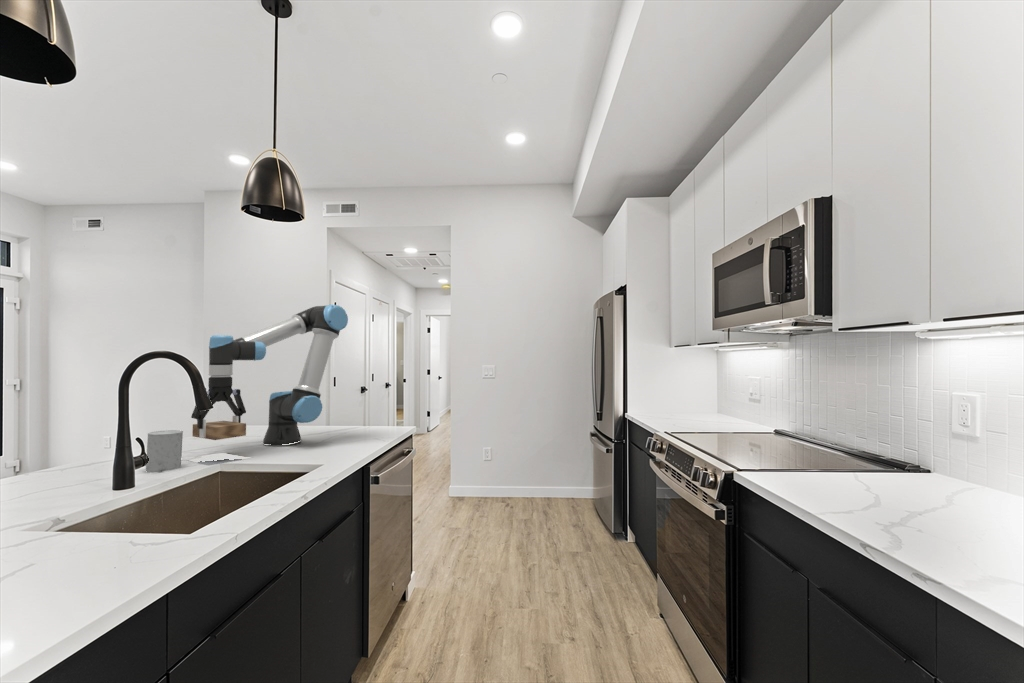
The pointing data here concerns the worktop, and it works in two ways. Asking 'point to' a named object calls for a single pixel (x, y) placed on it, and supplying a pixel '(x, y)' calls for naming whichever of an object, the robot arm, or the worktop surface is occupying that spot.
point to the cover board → (221, 430)
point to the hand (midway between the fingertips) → (219, 435)
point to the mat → (217, 461)
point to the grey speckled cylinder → (164, 450)
